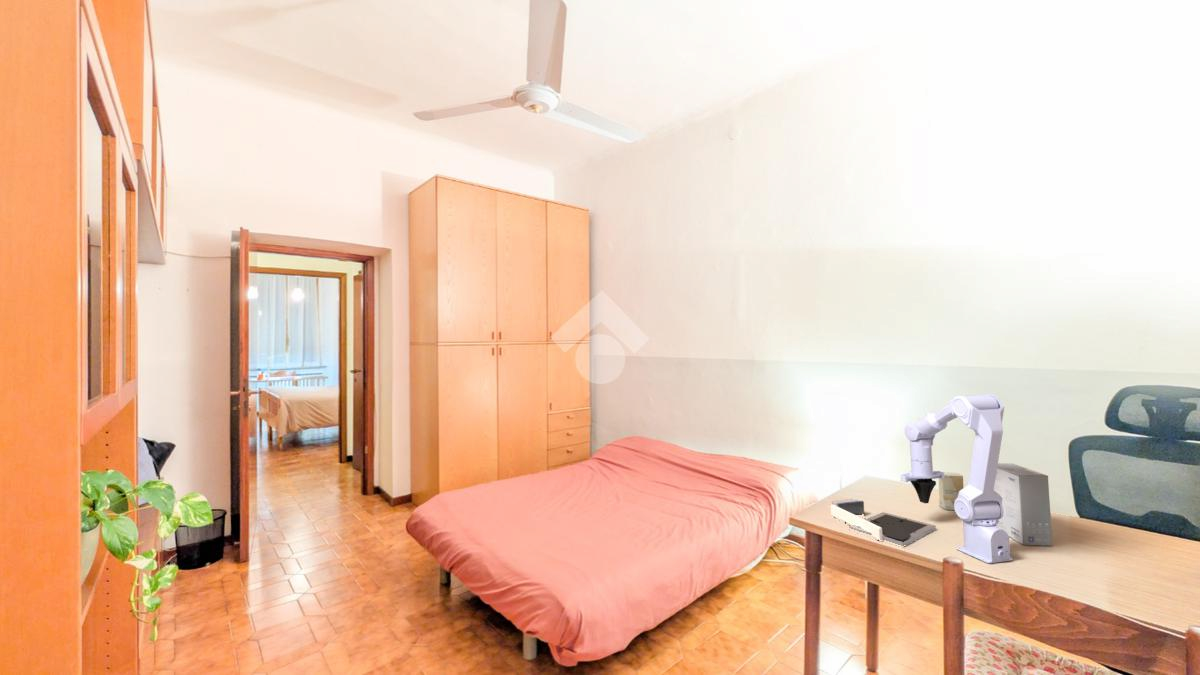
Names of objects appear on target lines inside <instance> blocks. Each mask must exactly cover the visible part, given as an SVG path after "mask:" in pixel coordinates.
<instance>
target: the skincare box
mask: <svg viewBox="0 0 1200 675" xmlns="http://www.w3.org/2000/svg"><path fill="white" fill-rule="evenodd" d="M963 488H964V476H963V474H961V473H960V472H949V471H947V472H946V471H944V478H943V479H941V478H938V496H939V497H938V501H939V502H938V504H939V507H941V508H942V509H943V510H947V511H955V509H954V502H955V500H956V499H957V497H958V494H959V491H960V490H962V489H963Z"/></svg>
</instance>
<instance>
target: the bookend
mask: <svg viewBox="0 0 1200 675" xmlns="http://www.w3.org/2000/svg"><path fill="white" fill-rule="evenodd" d="M837 507H839V508H841V509H844V510H846V511H848V512H850V513H852V514H854V515H862V514H864V515H865V502H864V500H859V501H854V502H845V503H837Z"/></svg>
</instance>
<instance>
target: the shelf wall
mask: <svg viewBox="0 0 1200 675" xmlns="http://www.w3.org/2000/svg"><path fill="white" fill-rule="evenodd" d="M831 515H833V516H835V517H838V518H839V519H842V520H844V521H846V522H848V523H850V524H852V525H854V524H855V525H857V526H859V527H861V528H862V529H864V530H867V531H869V532H871V533H872V536H874V537H876V538H877V539H879V540H883V537H882V528H881V527H879V526H877V525H875V524H873V523H871V522H869V521H866V519H862V518H860V517H858V516H856V515H854V514H852V513H850V512H848V511H846V510H844V509H841V508H839V507H837V506H835V505H832V504H830V516H831Z"/></svg>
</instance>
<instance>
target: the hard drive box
mask: <svg viewBox="0 0 1200 675" xmlns="http://www.w3.org/2000/svg"><path fill="white" fill-rule="evenodd" d="M1049 487H1050V486H1049V475H1047V474H1044V473H1041V472H1038V471H1035V470H1034V469H1033V470H1032V469H1031V468H1027V467H1023V466H1021V465H1018V464H1015V463H1000V462H998V466H997V472H996V478H995V485H994V491H995V492H997V493H998V494H999V495H1000V496H1001V497H1002V498H1003V499H1002V506H1003V511H1004V513H1003V517H1002V518H1001V519H999V523H997V524H996V525H997V526H998V527H999V528H1001V529H1002V530H1004V531H1005V532H1006V533H1007V534H1008V537H1009V538H1011V539H1012V540H1014V541H1016V542H1018V543H1019V544H1021V545H1025V546H1028V545H1029V546H1045V547H1046V546H1049V547H1053V533H1052V532H1053V528H1052V518H1051V517H1052V516H1051V505H1050V504H1051V502H1050V488H1049Z"/></svg>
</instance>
